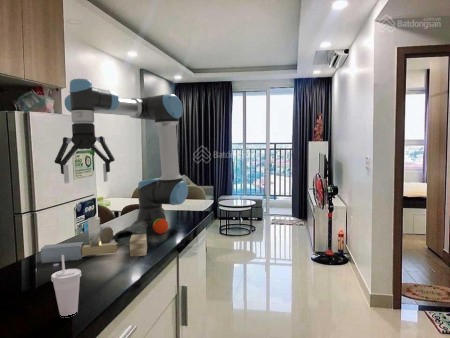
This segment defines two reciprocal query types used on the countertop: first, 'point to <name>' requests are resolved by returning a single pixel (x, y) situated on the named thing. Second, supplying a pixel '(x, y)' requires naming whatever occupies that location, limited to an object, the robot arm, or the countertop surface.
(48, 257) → the sleeve
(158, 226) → the clementine
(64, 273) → the smoothie
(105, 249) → the bar with upright post
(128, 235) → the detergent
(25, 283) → the countertop surface
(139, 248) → the socket block
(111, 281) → the countertop surface
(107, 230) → the ceramic mug
